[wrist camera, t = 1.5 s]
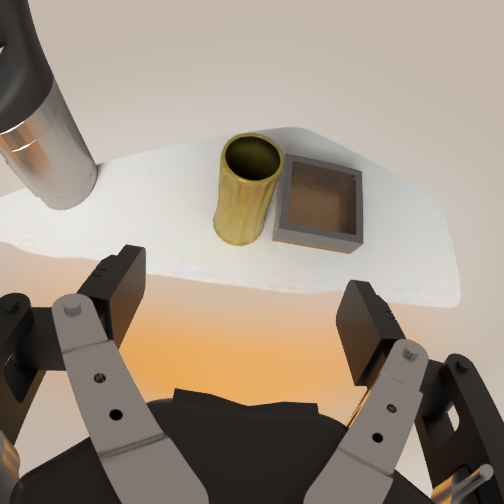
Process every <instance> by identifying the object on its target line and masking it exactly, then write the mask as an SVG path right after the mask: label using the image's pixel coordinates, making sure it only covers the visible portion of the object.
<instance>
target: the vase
mask: <svg viewBox="0 0 504 504" xmlns="http://www.w3.org/2000/svg"><path fill="white" fill-rule="evenodd" d="M282 167H283V155H282V152H281V150H280V148H279V147H278V145H277V144H276V143H274V142H273V141H272V140H270V139H269V138H267V137H265V136H263V135H260V134H256V133H245V134H239V135H237V136H234V137H233V138H231V139H230V140H229V141H228V142H227V143H226V144H225V146H224V148H223V151H222V154H221V159H220V177H219V198H218V205H217V209H216V212H215V215H214V218H213V224H214V229H215V231H216V233H217V235H218V236H219V237H220V238H221V239H222V240H223V241H225V242H227V243H229V244H231V245H236V246H242V245H247V244H250V243H252V242H253V241H255V240H256V239H257V238H258V237H259V236H260V234H261V232H262V230H263V223H264V220H265V217H266V213H267V210H268V207H269V204H270V201H271V198H272V195H273V192H274V189H275V186H276V183H277V180H278V178H279V175H280V173H281V170H282Z"/></svg>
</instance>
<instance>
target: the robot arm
mask: <svg viewBox="0 0 504 504" xmlns="http://www.w3.org/2000/svg"><path fill="white" fill-rule="evenodd" d="M3 46H4V47H3ZM1 47H3V49H2V52H1V53H0V153H1V154H2V156H3V157H4V158H5V159H6V163H7V165H8V166H9V167H10V168H11V169H12V170H13V172H14V173H15V174H16V175H17V176H18V177H19V178H20V179H21V181H22V182H23V183H24V184H25V185H26V186H27V187H28V188H29V189H30V190H31V191H32V193H33V194H34V195H35V196H36V197H39V198H40V199H41V200H42V201H43V202H44V203H45V204H46V205H47V206H48V207H50V208H52V209H55V210H65V209H69V208H72V207H74V206H76V205H78V204H79V203H80V202H82V201H83V200H84V199H85V198H86V197H87V196H88V195H89V193H90V192H91V190H92V189H93V186H94V184H95V182H96V178H97V168H96V164H95V162H94V160H93V158H92V156H91V154H90V152H89V150H88V148H87V146H86V144H85V142H84V140H83V138H82V136H81V134H80V132H79V130H78V128H77V126H76V124H75V122H74V120H73V117H72V115H71V113H70V111H69V109H68V107H67V105H66V102H65V100H64V98H63V96H62V94H61V91H60V89H59V87H58V85H57V82H56V80H55V78H54V75H53V73H52V71H51V68H50V66H49V64H48V62H47V60H46V57H45V55H44V52H43V50H42V48H41V45H40V42H39V39H38V37H37V34H36V30H35V27H34V24H33V21H32V17H31V13H30V8H29V4H28V1H27V0H0V48H1ZM145 275H146V251H145V248H144V247H139V246H133V245H125V246H124V247H123V249H122V250H121V251H120V253H119V254H118V255H117V256H116V255H110V256H108V257H107V258H105V259H103V260H101V262H100V263H99V264H98V265H97V267H96V269H94V271H93V272H92V273H91V275H90V276H89V277H88V278H87V280H86V281H85V282H84V283H83V285H82V286H81V287H80V289H79V290H78V291H77V293H76V294H68V295H64V296H62V297H60V298H58V299H57V300H56V301H55V302H54V303H53V306H52V307H45V308H44V307H31V303H30V300H29V298H28V297H27V296H26V295H24V294H21V293H10V294H7V295H4V296H3V297H1V298H0V504H504V422H503V420H502V418H501V416H500V414H499V412H498V410H497V408H496V406H495V404H494V402H493V400H492V398H491V396H490V394H489V392H488V390H487V388H486V386H485V384H484V382H483V380H482V379H481V377H480V375H479V373H478V371H477V369H476V368H475V366H474V364H473V363H472V362H471V361H470V360H469V359H468V358H466V357H465V356H463V355H460V354H451V355H449V356H448V357H447V359H446V360H445V362H444V363H441V362H438V361H434V360H430V359H428V354H427V352H426V351H425V349H424V348H423V347H422V346H421V345H419V344H418V343H416V342H414V341H412V340H408V339H406V337H405V335H404V333H403V332H402V330H401V328H400V326H399V324H398V322H397V320H395V317H394V315H393V313H391V310H390V308H389V306H388V304H387V303H386V302H385V301H384V300H383V299H382V298H381V297H380V296H379V295H376V293H375V292H374V290H373V288H372V286H371V284H370V283H369V282H365V281H358V280H350V281H349V283H348V285H347V287H346V290H345V293H344V296H343V298H342V301H341V303H340V306H339V308H338V311H337V315H336V326H337V329H338V333H339V336H340V339H341V342H342V345H343V348H344V352H345V355H346V358H347V361H348V364H349V368H350V371H351V375H352V378H353V381H354V385H355V386H367V391H366V393H365V394H364V396H363V397H362V399H361V401H360V403H359V404H358V406H357V407H356V409H355V411H354V412H353V414H352V416H351V417H350V419H349V420H348V422H347V424H346V425H343V424H342V423H340V422H339V421H337V420H335V419H333V418H330V417H328V416H325V415H322V414H319V412H318V406H317V403H297V402H279V403H271V404H263V405H256V406H246V405H242V404H239V403H236V402H233V401H230V400H227V399H224V398H221V397H218V396H215V395H212V394H207V393H200V392H194V391H188V390H182V389H176V388H175V391H174V396H173V398H167V399H159V400H155V401H150V402H148V403H145V401H144V399H143V398H142V396H141V394H140V392H139V390H138V388H137V387H136V385H135V383H134V381H133V379H132V377H131V375H130V373H129V371H128V369H127V367H126V365H125V363H124V361H123V360H122V357H121V355H120V353H119V351H118V350H119V347H120V345H121V343H122V341H123V339H124V336H125V334H126V332H127V330H128V328H129V325H130V323H131V321H132V319H133V317H134V314H135V313H136V310H137V308H138V306H139V304H140V302H141V300H142V298H143V294H144V290H145ZM10 356H11V357H10ZM9 357H10V358H9ZM8 359H9V360H8ZM7 361H8V362H7ZM6 362H7V363H6ZM5 364H6V365H5ZM47 370H56V371H67V374H68V377H69V380H70V383H71V386H72V389H73V392H74V395H75V398H76V401H77V404H78V407H79V410H80V412H81V415H82V418H83V420H84V423H85V425H86V428H87V430H88V433H89V435H90V436H89V437H88V438H86V439H85V440H83V441H82V442H80V443H78V444H76V445H75V446H73V447H71V448H69V449H68V450H66V451H64V452H63V453H61V454H59V455H58V456H56V457H54V458H53V459H51V460H49V461H47V462H45V463H44V464H42V465H40V466H38V467H36V468H35V469H33V470H31V471H29V472H28V473H26V474H25V475H24V476H22V477H21V478H19V466H20V458H19V454H18V452H17V450H16V449H15V447H14V445H15V442H16V439H17V437H18V434H19V432H20V429H21V427H22V424H23V422H24V420H25V417H26V415H27V413H28V410H29V408H30V406H31V403H32V401H33V399H34V397H35V395H36V392H37V390H38V388H39V386H40V384H41V382H42V380H43V377H44V375H45V373H46V371H47ZM453 405H454V406H455V409H456V411H457V414H458V416H459V426H458V428H457V430H456V431H454V429H453V426H452V423H451V421H450V418H449V416H448V413H447V412H448V411H449V410H450V408H451V407H452V406H453ZM413 422H414V423H415V426H416V430H417V433H418V436H419V440H420V443H421V446H422V450H423V453H424V457H425V461H426V464H427V468H428V472H429V476H430V480H431V483H432V488H433V492H432V495H431V499H430V498H429V497H428V496H426V495H425V494H424V493H423V492H422V491H420V490H419V489H418V488H417V487H416V486H414V485H413V484H412V483H411V482H410V481H408V480H407V479H406V478H405V477H404V476H402V475H401V474H400V473H399V472H398V471H396V470H395V467H396V465H397V462H398V460H399V458H400V456H401V453H402V451H403V448H404V445H405V443H406V441H407V438H408V436H409V433H410V431H411V428H412V425H413Z"/></svg>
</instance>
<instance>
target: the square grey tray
mask: <svg viewBox="0 0 504 504" xmlns="http://www.w3.org/2000/svg"><path fill="white" fill-rule="evenodd" d="M272 241H278V242H283V243H289V244H295V245H301V246H307V247H313V248H318V249H324V250H330V251H336V252H341V253H347V254H350V253H352V252H353V251H354V250H356V249H357V248H358V247H360V246H361V245H362V244H363V194H362V171H358V170H355V169H351V168H347V167H343V166H338V165H334V164H330V163H326V162H321V161H317V160H313V159H308V158H303V157H299V156H294V155H289V154H286V156H285V159H284V162H283V167H282V170H281V173H280V176H279V186H278V195H277V204H276V213H275V222H274V231H273V240H272Z"/></svg>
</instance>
